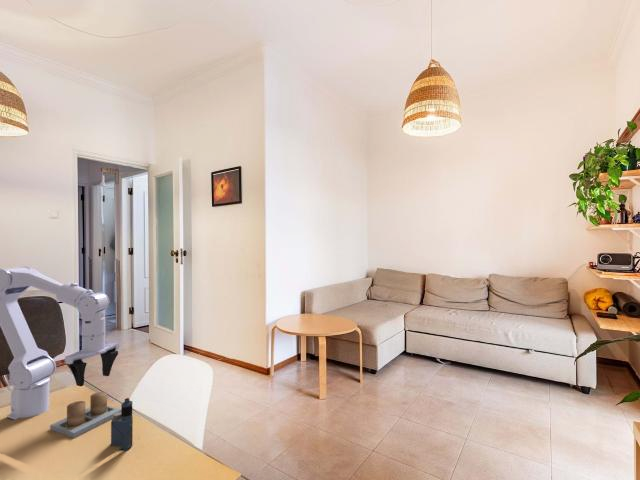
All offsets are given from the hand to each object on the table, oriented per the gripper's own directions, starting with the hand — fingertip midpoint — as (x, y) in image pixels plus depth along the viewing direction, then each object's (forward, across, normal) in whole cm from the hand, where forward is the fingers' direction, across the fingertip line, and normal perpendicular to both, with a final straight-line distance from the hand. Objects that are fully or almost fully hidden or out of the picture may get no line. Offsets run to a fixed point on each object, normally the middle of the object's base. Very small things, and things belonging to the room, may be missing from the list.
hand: (93, 380), depth 98 cm
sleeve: (+9, -8, -5) cm, 13 cm away
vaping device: (+10, -8, -23) cm, 26 cm away
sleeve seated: (+9, -1, -4) cm, 10 cm away
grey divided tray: (+10, -4, -4) cm, 12 cm away
